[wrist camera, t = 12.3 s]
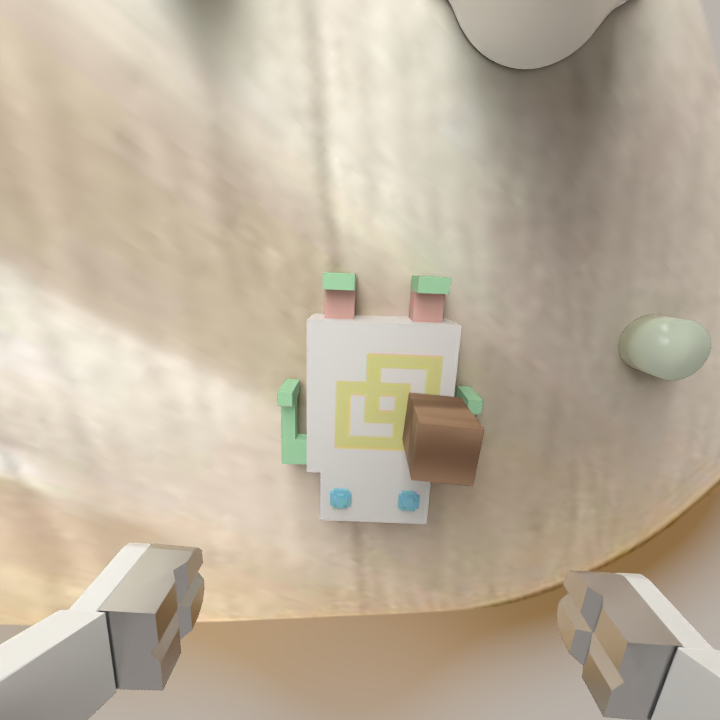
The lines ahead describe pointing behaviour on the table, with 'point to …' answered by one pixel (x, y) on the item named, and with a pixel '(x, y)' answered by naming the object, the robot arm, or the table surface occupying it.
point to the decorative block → (370, 399)
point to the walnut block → (441, 439)
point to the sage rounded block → (665, 346)
